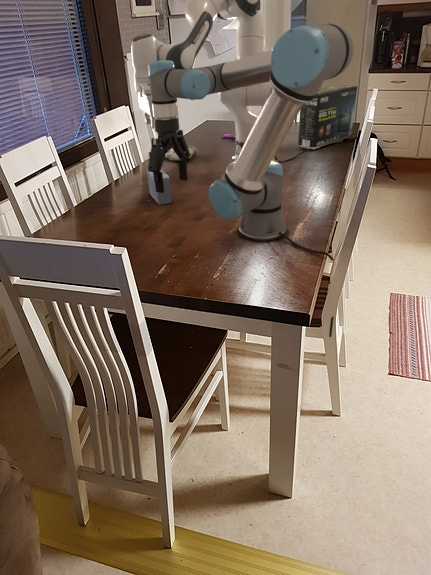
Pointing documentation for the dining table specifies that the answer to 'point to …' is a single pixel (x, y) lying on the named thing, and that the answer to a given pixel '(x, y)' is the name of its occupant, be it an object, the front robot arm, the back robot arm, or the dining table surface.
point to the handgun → (227, 135)
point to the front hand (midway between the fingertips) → (172, 185)
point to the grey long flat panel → (165, 177)
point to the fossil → (173, 156)
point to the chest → (160, 197)
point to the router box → (327, 116)
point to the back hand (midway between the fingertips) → (151, 126)
